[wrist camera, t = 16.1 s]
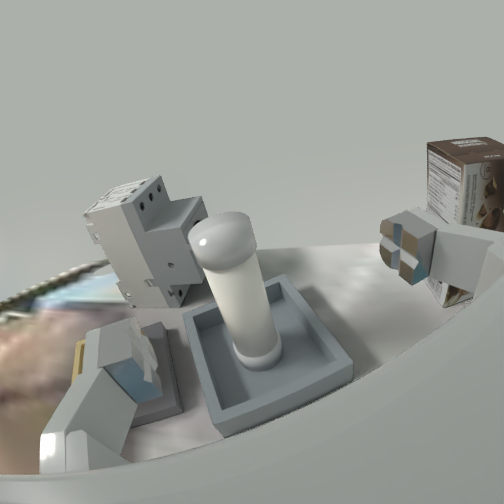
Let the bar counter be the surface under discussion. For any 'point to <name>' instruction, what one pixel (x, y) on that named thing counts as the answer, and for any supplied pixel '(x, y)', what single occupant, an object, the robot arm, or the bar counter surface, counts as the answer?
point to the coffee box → (465, 193)
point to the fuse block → (159, 341)
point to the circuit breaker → (148, 241)
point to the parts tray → (272, 380)
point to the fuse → (238, 287)
